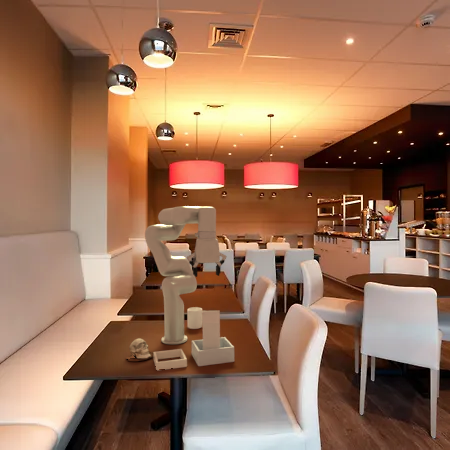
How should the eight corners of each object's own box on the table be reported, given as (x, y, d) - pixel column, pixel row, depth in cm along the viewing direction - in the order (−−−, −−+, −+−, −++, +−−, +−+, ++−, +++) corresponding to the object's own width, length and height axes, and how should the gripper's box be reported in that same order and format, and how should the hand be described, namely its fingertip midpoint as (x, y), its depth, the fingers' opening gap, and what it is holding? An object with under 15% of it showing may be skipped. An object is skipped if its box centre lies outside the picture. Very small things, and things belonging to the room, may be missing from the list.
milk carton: (220, 358, 145) (219, 312, 145) (202, 359, 145) (202, 313, 145) (220, 352, 152) (219, 308, 152) (203, 352, 152) (203, 308, 152)
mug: (208, 329, 188) (208, 311, 188) (186, 328, 190) (186, 310, 189) (210, 324, 196) (210, 307, 196) (189, 324, 198) (189, 307, 197)
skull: (162, 353, 152) (148, 340, 147) (147, 374, 147) (132, 362, 141) (145, 345, 160) (132, 333, 155) (131, 366, 155) (117, 353, 149)
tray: (153, 359, 148) (153, 352, 148) (181, 355, 151) (181, 348, 151) (156, 370, 136) (156, 362, 136) (186, 366, 140) (186, 359, 140)
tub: (191, 354, 153) (191, 340, 153) (225, 350, 157) (224, 337, 157) (198, 366, 140) (198, 351, 140) (234, 361, 145) (234, 347, 145)
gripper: (188, 236, 143) (188, 278, 143) (229, 236, 148) (228, 276, 149) (185, 235, 150) (185, 275, 150) (223, 235, 155) (223, 273, 156)
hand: (206, 275), depth 150 cm, fingers open, 9 cm apart
